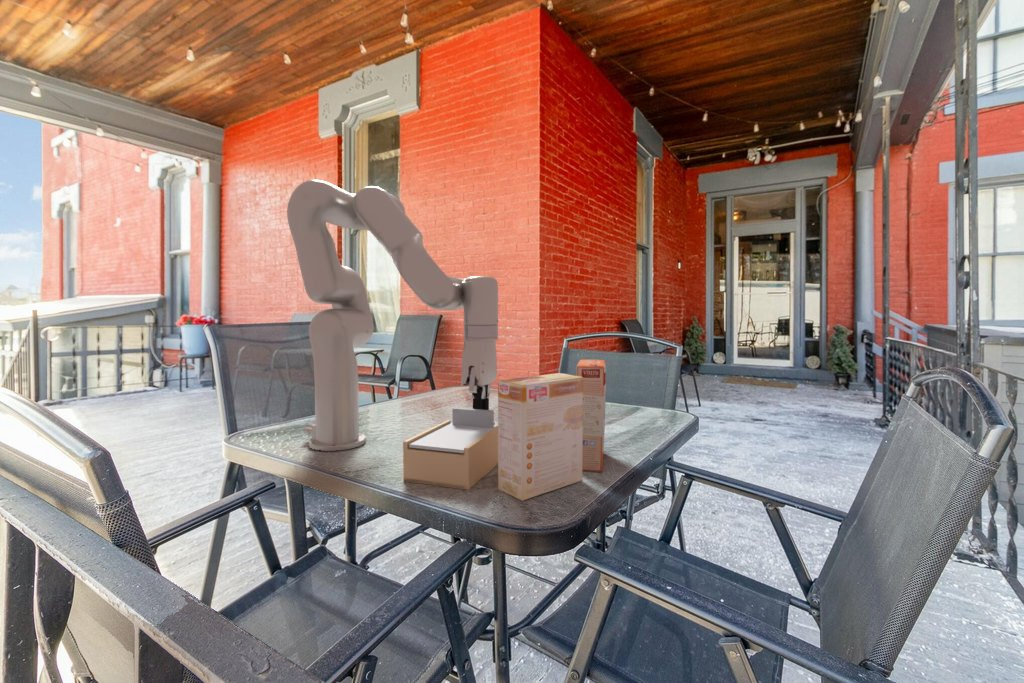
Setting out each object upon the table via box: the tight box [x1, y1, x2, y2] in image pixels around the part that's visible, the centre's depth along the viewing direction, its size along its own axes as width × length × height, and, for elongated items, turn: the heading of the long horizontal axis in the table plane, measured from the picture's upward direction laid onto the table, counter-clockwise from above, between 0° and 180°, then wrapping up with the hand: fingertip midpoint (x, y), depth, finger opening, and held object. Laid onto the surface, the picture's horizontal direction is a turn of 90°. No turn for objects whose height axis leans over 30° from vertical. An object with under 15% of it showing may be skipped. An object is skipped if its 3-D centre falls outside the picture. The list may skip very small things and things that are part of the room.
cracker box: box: [575, 358, 607, 473], centre depth 97 cm, size 14×6×21 cm, turn 168°
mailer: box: [402, 419, 498, 490], centre depth 92 cm, size 13×18×7 cm
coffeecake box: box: [497, 372, 583, 502], centre depth 84 cm, size 15×7×20 cm, turn 129°
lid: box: [409, 407, 496, 453], centre depth 92 cm, size 11×17×4 cm, turn 161°
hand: (480, 415), depth 104 cm, fingers closed
